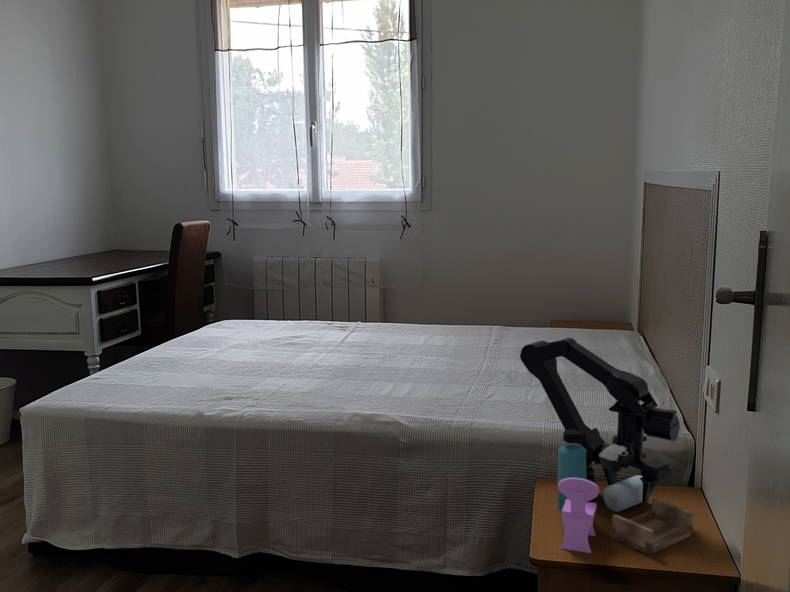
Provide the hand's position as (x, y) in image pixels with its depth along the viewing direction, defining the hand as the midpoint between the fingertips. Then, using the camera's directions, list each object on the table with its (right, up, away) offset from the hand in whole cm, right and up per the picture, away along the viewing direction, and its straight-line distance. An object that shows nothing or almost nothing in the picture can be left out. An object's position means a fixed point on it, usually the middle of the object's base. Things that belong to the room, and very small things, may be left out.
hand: (628, 496), depth 176 cm
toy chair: (-16, -5, -17) cm, 24 cm away
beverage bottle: (-14, -3, -5) cm, 16 cm away
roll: (0, -2, 0) cm, 2 cm away
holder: (0, -4, -15) cm, 16 cm away
